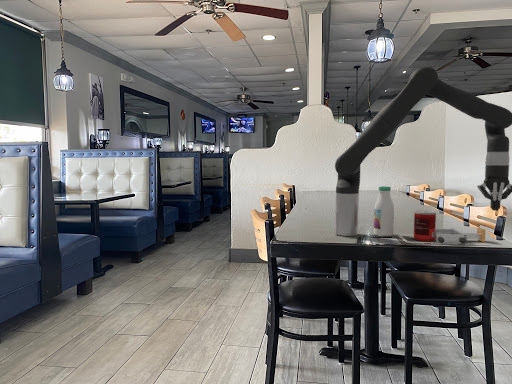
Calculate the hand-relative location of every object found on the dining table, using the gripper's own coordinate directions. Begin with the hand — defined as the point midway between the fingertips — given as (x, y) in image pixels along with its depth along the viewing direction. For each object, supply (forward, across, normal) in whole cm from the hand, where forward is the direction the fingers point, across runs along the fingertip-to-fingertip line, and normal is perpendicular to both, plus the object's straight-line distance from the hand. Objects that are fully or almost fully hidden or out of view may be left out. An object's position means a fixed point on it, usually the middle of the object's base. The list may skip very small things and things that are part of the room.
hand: (495, 210), depth 147 cm
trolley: (+12, -14, 0) cm, 18 cm away
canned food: (+12, -25, 0) cm, 28 cm away
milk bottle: (+12, -39, +8) cm, 42 cm away
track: (+12, -19, 0) cm, 22 cm away
